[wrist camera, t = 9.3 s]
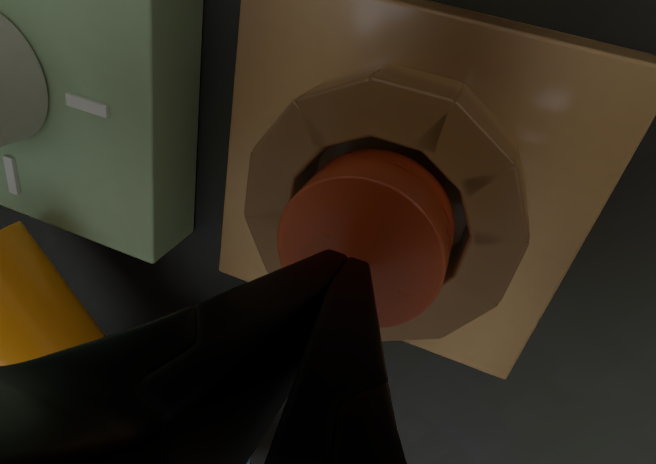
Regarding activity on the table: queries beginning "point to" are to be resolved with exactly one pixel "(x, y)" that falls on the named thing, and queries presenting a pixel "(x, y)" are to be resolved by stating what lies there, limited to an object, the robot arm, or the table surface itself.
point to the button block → (438, 145)
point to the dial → (19, 87)
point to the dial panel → (111, 121)
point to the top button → (376, 226)
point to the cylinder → (37, 303)
